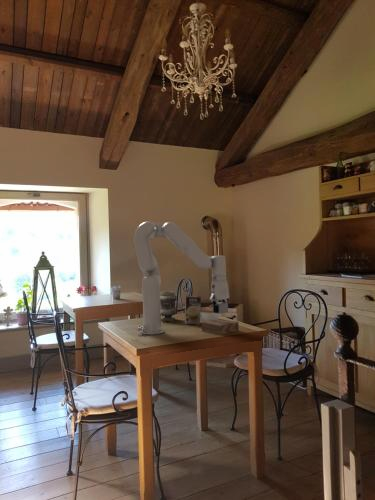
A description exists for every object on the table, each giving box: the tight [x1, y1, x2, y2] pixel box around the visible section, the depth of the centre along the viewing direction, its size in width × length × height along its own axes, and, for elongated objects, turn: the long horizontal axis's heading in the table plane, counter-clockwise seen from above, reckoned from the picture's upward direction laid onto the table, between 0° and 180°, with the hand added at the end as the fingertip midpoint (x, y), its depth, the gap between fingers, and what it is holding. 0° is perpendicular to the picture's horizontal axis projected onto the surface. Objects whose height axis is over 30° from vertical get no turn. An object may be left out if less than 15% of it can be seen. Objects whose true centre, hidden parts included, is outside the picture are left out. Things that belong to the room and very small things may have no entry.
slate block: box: [211, 301, 229, 315], centre depth 209 cm, size 6×6×5 cm
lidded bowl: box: [200, 304, 222, 322], centre depth 227 cm, size 13×13×11 cm
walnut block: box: [201, 318, 240, 336], centre depth 209 cm, size 14×14×5 cm
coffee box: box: [184, 295, 202, 325], centre depth 230 cm, size 9×6×16 cm
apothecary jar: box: [160, 290, 178, 322], centre depth 242 cm, size 12×12×18 cm
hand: (220, 311), depth 209 cm, fingers closed on slate block, 6 cm apart
